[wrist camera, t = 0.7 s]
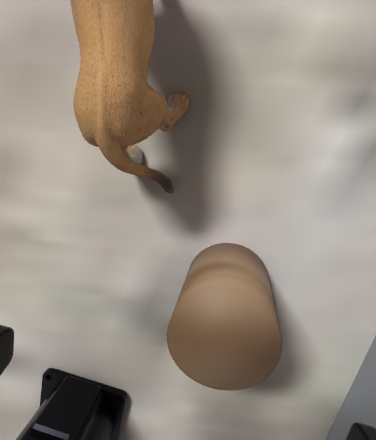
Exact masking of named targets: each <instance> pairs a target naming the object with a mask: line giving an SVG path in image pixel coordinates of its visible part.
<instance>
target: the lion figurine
mask: <svg viewBox="0 0 376 440" xmlns="http://www.w3.org/2000/svg"><path fill="white" fill-rule="evenodd" d="M71 6H72V12H73V19H74V24H75V29H76V33H77V37H78V41H79V46H80V54H81V65H80V71H79V77H78V81H77V85H76V90H75V96H74V112H75V116H76V119H77V122H78V125H79V128H80V131H81V133H82V135H83V138H84V139H85V140H86V141H87V142H89V143H90V144H91V145H93V146H97V147H99V148H100V150H101V152H102V153H103V155H104V156H105V158H106V159H107V160H108V161H109V162H110V163H111V164H112V165H114V166H115V167H116V168H117V169H119V170H121V171H123V172H126V173H129V174H134V175H139V176H145V177H148V178H150V179H152V180H155V181H157V182H158V183H159V184H160V185H161V186H162V187H163V188H164V190H165V191H167V192H168V193H170V194H171V193H174V189H173V186H172V182H171V181H170V179H168V177H166V176H165V175H163V174H162V173H160V172H159V171H156V170H153V169H151V168H148V167H146V166H143V165H141V163H142V157H143V156H142V151H141V149H140V148H139V147H137V146H135V145H134V144H136V143H139V142H141V141H143V140H145V139H146V138H148V137H149V136H150V135H152V134H153V133H154V132H155V131H156V130H157V129H159V128H160V129H161V130H162V131H164V132H167V131H169V130H170V129H171V128H172V126H173V125H174V124H175V123H176V121H177V120H179V119H180V118H182V117H183V116H184V115H185V113H186V112H187V110H188V108H189V103H190V101H189V98H188V97H187V95H186V94H185V93H181V92H176V93H172V94H171V95H170V96H169V99H168V105H167V102H166V100H165V98H164V96H163V95H161V94H160V93H158V92H156V91H155V90H154V89H153V88H152V87H150V86H149V85H148V82H147V70H148V64H149V60H150V56H151V51H152V47H153V42H154V31H155V28H154V8H153V0H71Z"/></svg>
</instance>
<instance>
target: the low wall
mask: <svg viewBox="0 0 376 440" xmlns="http://www.w3.org/2000/svg"><path fill="white" fill-rule="evenodd" d="M355 422H360V423H363V424H367V425H370V426H373V427H374V428H375V429H376V337H375V339H374V341H373V343H372V345H371V347H370V349H369V352H368V354H367V356H366V358H365V360H364V362H363V364H362V366H361V368H360V370H359V372H358V374H357V376H356V378H355V380H354V383H353V385H352V387H351V389H350V391H349V393H348V395H347V397H346V399H345V401H344V403H343V405H342V407H341V409H340V411H339V414H338V416H337V418H336V420H335V422H334V424H333V426H332V428H331V430H330V432H329V434H328V436H327V438H326V440H346V437H347V435H348V433H349V430H350V428H351V426H352V424H353V423H355Z"/></svg>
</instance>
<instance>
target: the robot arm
mask: <svg viewBox="0 0 376 440" xmlns="http://www.w3.org/2000/svg"><path fill="white" fill-rule="evenodd" d="M13 348H14V331H13V329H12V328H10V327H6V326H3V325H0V375H1V374H2V373H3V371H4V370H5V368H6V367H7V366H8V364H9V363H10V361H11V359H12V356H13ZM126 399H127V395H126V393H125V392H124V391H122V390H119V389H115V388H112V387H109V386H106V385H103V384H100V383H97V382H93V381H90V380H87V379H84V378H81V377H78V376H75V375H72V374H68V373H65V372H62V371H59V370H56V369H53V368H49V369H47V370H46V371H45V372H44V374H43V379H42V390H41V401H40V408H39V409H38V410H37V412H36V413H35V414H34V416H33V417H32V419H31V420H30V421H29V423H28V424H27V425H26V427H25V428H24V429H23V431H22V432H21V434H20V435H19V436H18V438H17V439H16V440H118V439H119V434H120V429H121V424H122V419H123V414H124V409H125V404H126ZM346 440H376V429H375V428H374V427H373V426H370V425H367V424H363V423H360V422H355V423H353V424H352V426H351V428H350V430H349V433H348V435H347V437H346Z"/></svg>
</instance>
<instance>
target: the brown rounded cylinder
mask: <svg viewBox="0 0 376 440" xmlns="http://www.w3.org/2000/svg"><path fill="white" fill-rule="evenodd" d="M167 343H168V348H169V352H170V354H171V356H172V358H173V360H174V362H175V363H176V365H177V366H178V367H179V368H180V369H181V370H182V371H183V372H184V373H185V374H186V375H187V376H188V377H190V378H191V379H193V380H194V381H196V382H198V383H200V384H202V385H204V386H207V387H210V388H214V389H219V390H240V389H245V388H248V387H251V386H254V385H256V384H258V383H260V382H261V381H263V380H264V379H265V378H267V377H268V376H269V375H270V374H271V373H272V372H273V370H274V369H275V367H276V366H277V364H278V362H279V359H280V356H281V350H282V340H281V335H280V330H279V325H278V320H277V315H276V311H275V306H274V301H273V296H272V291H271V286H270V281H269V276H268V272H267V269H266V267H265V265H264V263H263V262H262V260H261V259H260V258H259V257H258V256H257V255H256V254H255V253H254V252H253V251H251V250H250V249H248V248H246V247H244V246H241V245H238V244H232V243H221V244H216V245H213V246H210V247H208V248H206V249H204V250H203V251H201V252H200V253H199V254H198V255H197V256H196V257H195V259H194V260H193V262H192V264H191V266H190V268H189V271H188V274H187V276H186V279H185V282H184V285H183V287H182V290H181V293H180V295H179V298H178V301H177V303H176V306H175V309H174V311H173V314H172V317H171V320H170V322H169V326H168V330H167Z"/></svg>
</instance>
